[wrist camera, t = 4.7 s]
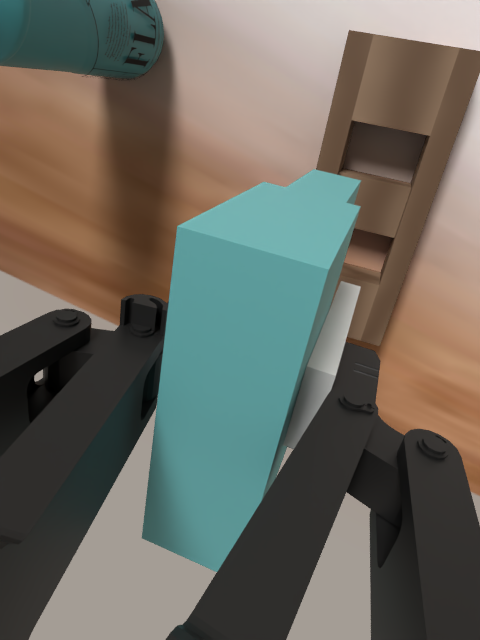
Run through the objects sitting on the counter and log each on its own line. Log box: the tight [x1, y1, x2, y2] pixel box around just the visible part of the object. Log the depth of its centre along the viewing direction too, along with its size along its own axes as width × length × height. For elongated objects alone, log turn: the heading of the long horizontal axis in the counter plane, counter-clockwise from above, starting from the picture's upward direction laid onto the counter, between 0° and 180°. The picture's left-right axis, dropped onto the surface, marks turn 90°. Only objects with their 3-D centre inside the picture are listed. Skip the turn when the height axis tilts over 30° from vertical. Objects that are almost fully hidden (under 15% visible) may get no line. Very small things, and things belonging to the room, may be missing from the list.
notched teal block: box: [142, 169, 361, 572], centre depth 16 cm, size 3×9×12 cm, turn 169°
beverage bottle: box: [0, 0, 164, 81], centre depth 26 cm, size 6×7×20 cm
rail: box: [316, 30, 480, 346], centre depth 33 cm, size 8×20×3 cm, turn 169°
